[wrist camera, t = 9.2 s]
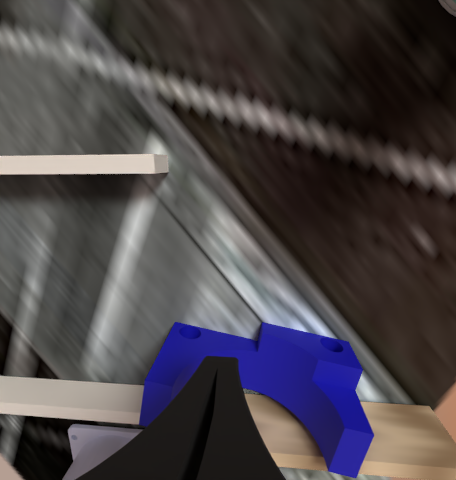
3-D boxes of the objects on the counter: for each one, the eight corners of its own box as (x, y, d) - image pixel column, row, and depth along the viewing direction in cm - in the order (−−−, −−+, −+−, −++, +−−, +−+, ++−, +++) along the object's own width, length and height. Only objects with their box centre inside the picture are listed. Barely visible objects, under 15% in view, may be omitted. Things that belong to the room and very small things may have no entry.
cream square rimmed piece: (201, 400, 22) (186, 462, 18) (-9, 385, 24) (-73, 438, 19) (191, 155, 18) (168, 152, 13) (-67, 158, 19) (-168, 156, 15)
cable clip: (347, 340, 20) (384, 411, 14) (329, 392, 21) (356, 478, 15) (178, 302, 21) (148, 355, 15) (170, 355, 22) (138, 424, 16)
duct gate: (203, 401, 22) (190, 458, 18) (202, 390, 22) (189, 445, 18) (426, 417, 21) (471, 483, 16) (429, 406, 20) (474, 470, 16)
